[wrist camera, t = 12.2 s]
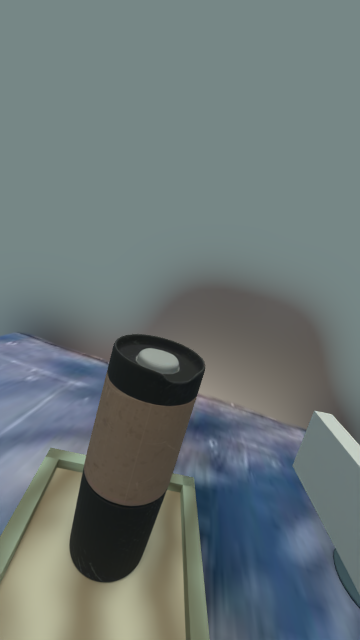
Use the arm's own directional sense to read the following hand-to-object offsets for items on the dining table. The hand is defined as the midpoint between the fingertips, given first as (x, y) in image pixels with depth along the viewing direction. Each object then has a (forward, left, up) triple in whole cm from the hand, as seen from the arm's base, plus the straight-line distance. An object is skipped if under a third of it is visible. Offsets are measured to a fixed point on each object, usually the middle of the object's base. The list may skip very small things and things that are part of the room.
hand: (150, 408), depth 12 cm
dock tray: (-1, -12, -24) cm, 27 cm away
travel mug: (-1, -12, -22) cm, 25 cm away
